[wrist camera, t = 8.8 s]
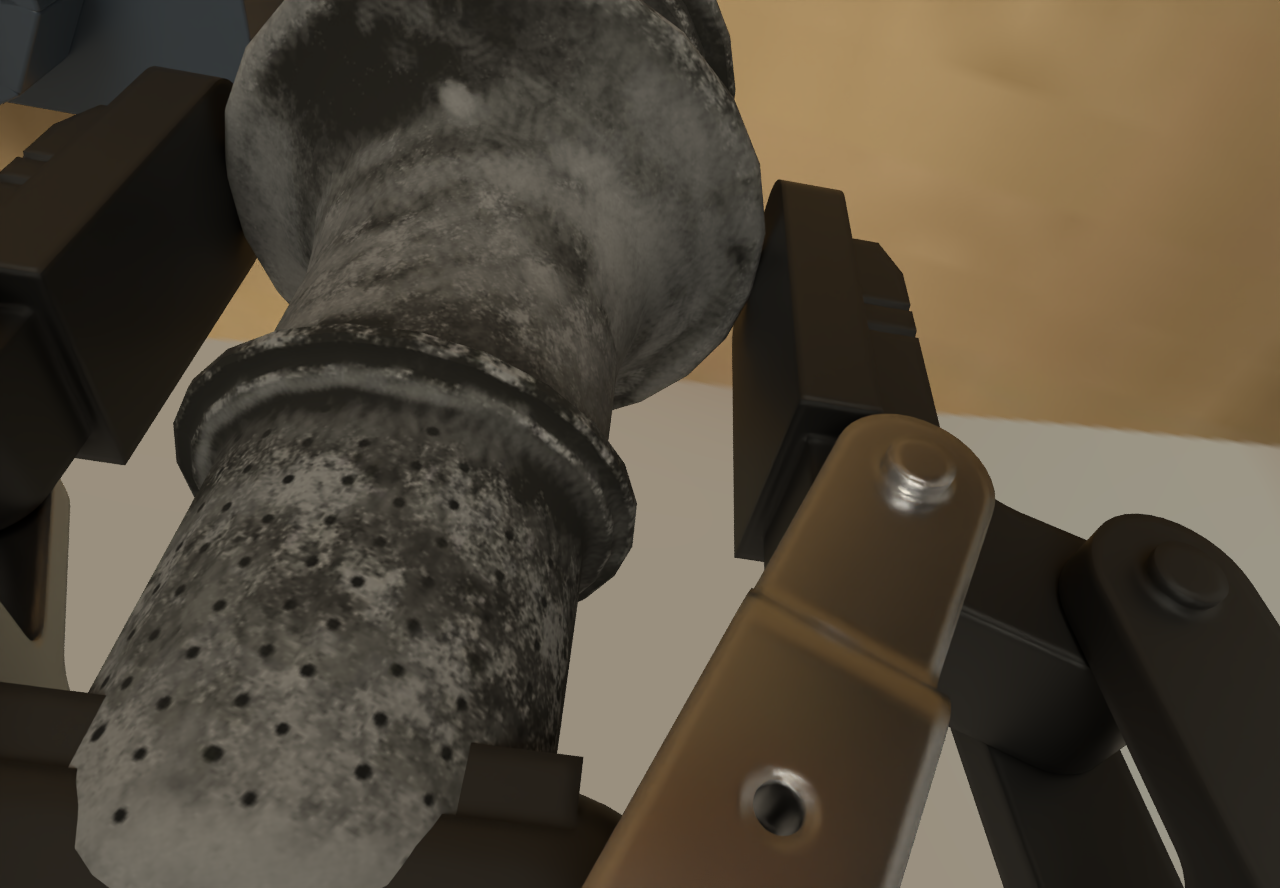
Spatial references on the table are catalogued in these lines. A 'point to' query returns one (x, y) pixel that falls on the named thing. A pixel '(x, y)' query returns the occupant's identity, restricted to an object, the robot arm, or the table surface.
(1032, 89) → the table surface
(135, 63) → the button box
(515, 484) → the salt shaker
